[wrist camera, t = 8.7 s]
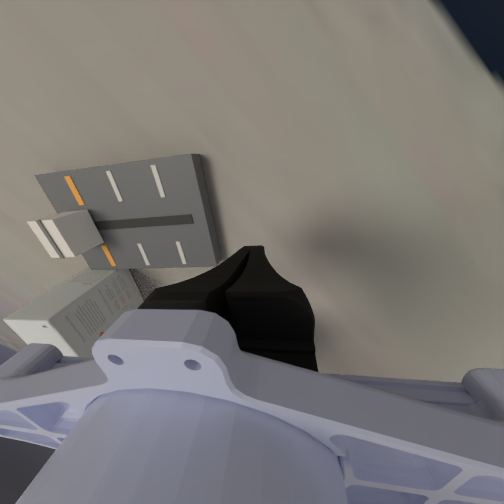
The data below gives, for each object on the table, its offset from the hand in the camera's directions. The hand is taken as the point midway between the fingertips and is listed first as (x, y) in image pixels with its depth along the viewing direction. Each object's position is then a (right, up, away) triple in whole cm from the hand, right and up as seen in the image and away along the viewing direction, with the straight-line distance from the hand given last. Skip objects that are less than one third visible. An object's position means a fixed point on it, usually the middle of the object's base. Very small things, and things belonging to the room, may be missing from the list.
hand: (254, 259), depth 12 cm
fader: (-20, +3, +9) cm, 22 cm away
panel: (-14, +5, +10) cm, 18 cm away
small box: (-20, -4, +16) cm, 27 cm away
